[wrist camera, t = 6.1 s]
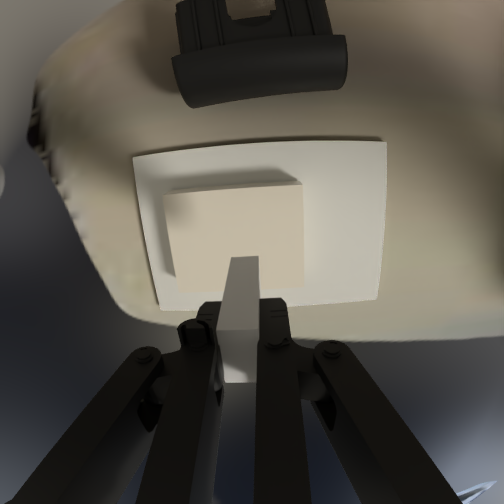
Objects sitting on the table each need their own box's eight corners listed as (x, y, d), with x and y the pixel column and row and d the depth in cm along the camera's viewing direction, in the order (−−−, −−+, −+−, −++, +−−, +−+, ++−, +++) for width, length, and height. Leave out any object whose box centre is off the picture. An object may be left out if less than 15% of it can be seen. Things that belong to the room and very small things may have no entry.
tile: (302, 184, 21) (162, 195, 21) (304, 287, 24) (178, 292, 24) (299, 180, 23) (170, 189, 23) (301, 275, 26) (184, 281, 26)
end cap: (200, 112, 22) (177, 106, 15) (187, 32, 19) (162, 1, 13) (329, 95, 21) (355, 83, 14) (314, 15, 18) (332, -21, 12)
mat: (384, 141, 22) (386, 142, 21) (374, 296, 27) (376, 299, 26) (135, 156, 23) (132, 157, 22) (162, 307, 28) (160, 310, 27)
